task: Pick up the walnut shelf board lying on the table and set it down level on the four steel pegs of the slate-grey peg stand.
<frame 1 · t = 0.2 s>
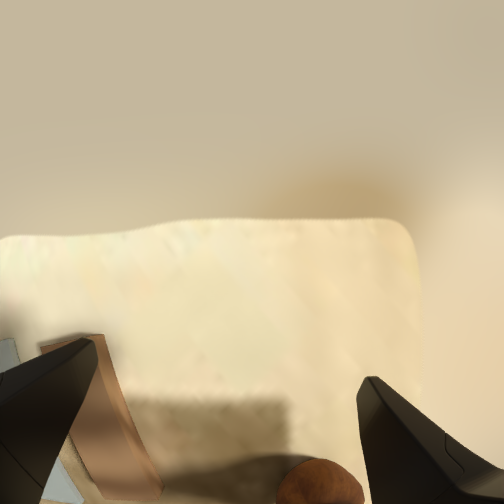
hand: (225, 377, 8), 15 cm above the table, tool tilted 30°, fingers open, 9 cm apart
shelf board: (107, 419, 21), on the table
peg stand: (13, 427, 19), on the table
wooden figurine: (308, 475, 20), on the table
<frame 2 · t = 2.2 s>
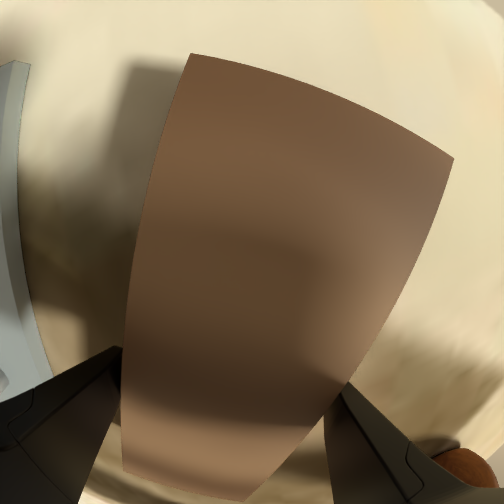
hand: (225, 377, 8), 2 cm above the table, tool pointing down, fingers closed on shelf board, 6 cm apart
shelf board: (231, 341, 10), on the table, touching gripper
wooden figurine: (435, 460, 14), on the table
when the fingers open (7 cm above the table, at t = 6.7 s): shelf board stays where it is, resting on peg stand.
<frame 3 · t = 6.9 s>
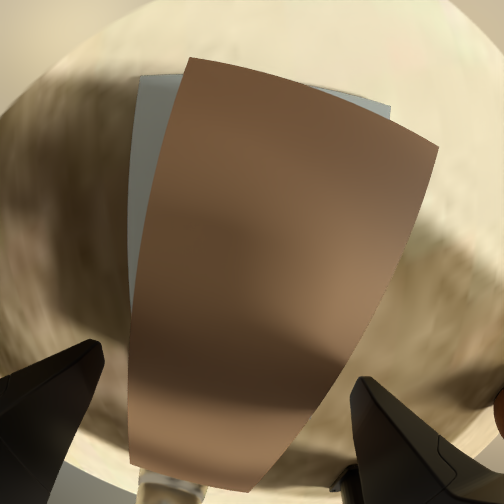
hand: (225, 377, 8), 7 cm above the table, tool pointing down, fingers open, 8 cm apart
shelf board: (234, 330, 11), point 5 cm above the table, touching peg stand
peg stand: (241, 278, 15), on the table
plastic bottle: (179, 454, 22), on the table
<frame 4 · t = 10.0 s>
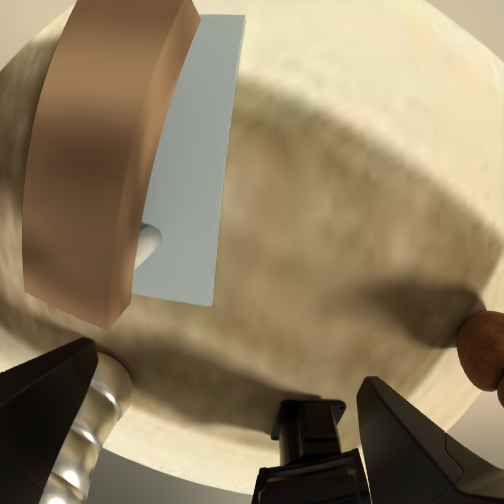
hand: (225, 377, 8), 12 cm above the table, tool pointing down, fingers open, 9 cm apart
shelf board: (103, 153, 13), point 5 cm above the table, touching peg stand
peg stand: (139, 153, 18), on the table
wooden figurine: (471, 327, 22), on the table
plastic bottle: (110, 369, 24), on the table
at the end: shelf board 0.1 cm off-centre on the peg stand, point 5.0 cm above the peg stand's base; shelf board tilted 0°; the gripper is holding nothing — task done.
